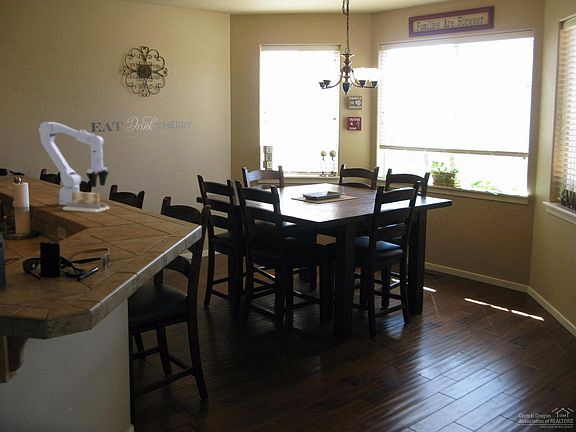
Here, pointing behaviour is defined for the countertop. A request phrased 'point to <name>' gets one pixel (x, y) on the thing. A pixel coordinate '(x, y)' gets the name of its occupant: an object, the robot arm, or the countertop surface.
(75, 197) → the door panel
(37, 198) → the countertop surface
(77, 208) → the track plinth
